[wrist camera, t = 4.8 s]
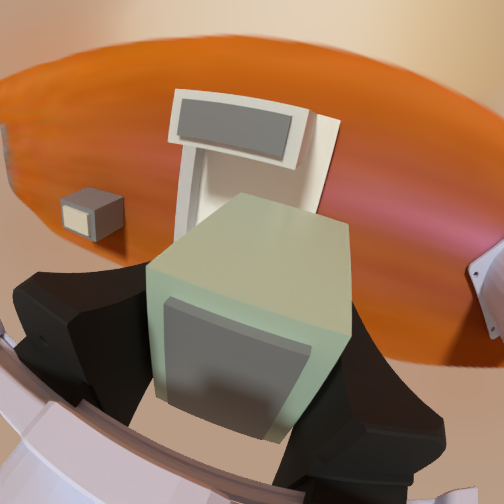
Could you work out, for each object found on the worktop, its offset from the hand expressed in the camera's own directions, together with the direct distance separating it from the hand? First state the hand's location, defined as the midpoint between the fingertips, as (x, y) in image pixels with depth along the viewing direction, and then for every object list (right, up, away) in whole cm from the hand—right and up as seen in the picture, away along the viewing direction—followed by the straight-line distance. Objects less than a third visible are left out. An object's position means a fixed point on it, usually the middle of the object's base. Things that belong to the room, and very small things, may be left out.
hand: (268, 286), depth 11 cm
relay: (-15, +6, +14) cm, 21 cm away
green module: (+1, +1, +1) cm, 2 cm away
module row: (-1, +5, +9) cm, 11 cm away
